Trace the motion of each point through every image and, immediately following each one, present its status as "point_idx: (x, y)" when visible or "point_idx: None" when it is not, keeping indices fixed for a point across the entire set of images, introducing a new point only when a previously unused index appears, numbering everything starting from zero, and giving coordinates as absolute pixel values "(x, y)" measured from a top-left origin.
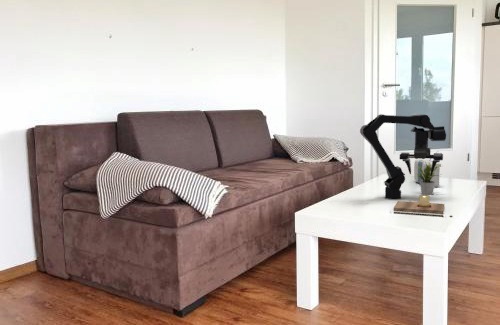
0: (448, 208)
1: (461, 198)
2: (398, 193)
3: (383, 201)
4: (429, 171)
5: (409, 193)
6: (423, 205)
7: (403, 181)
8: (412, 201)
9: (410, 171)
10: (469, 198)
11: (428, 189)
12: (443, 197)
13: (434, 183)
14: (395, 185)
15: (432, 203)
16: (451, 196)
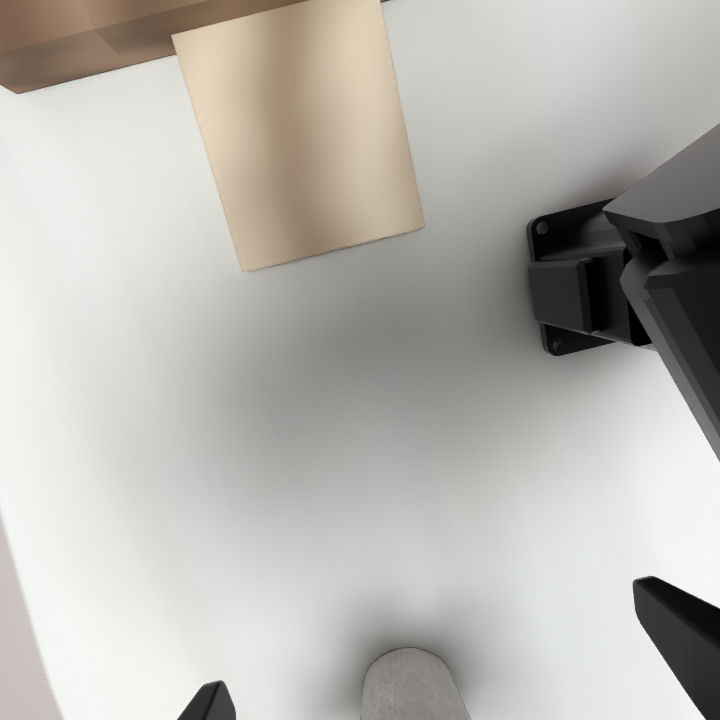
0: (12, 181)
1: (108, 656)
2: (584, 249)
3: None
4: None
5: (542, 637)
6: None
7: (640, 278)
8: (382, 193)
9: (695, 625)
10: (56, 686)
11: (389, 698)
12: (245, 624)
13: None
14: (706, 151)
15: (82, 4)
16: None
